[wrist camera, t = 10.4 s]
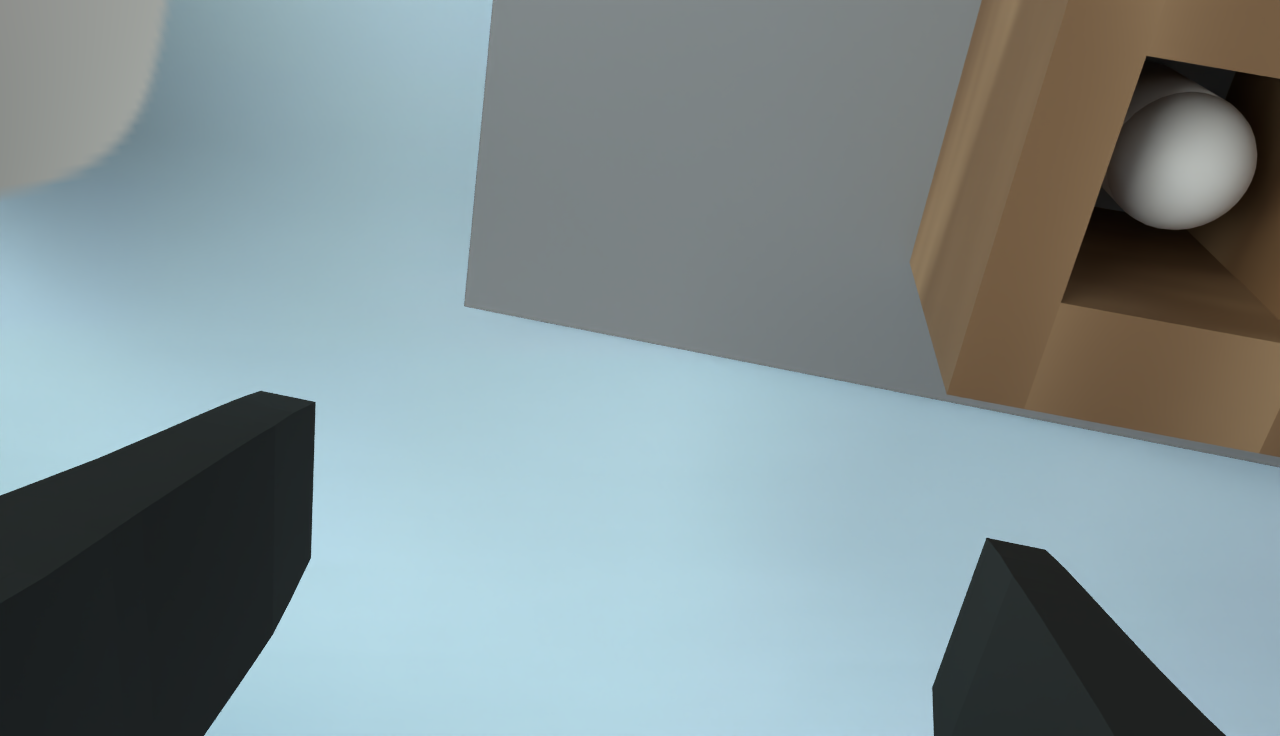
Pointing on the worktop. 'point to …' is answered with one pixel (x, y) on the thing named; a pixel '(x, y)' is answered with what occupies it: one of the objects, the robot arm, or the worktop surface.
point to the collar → (1103, 228)
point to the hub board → (774, 176)
